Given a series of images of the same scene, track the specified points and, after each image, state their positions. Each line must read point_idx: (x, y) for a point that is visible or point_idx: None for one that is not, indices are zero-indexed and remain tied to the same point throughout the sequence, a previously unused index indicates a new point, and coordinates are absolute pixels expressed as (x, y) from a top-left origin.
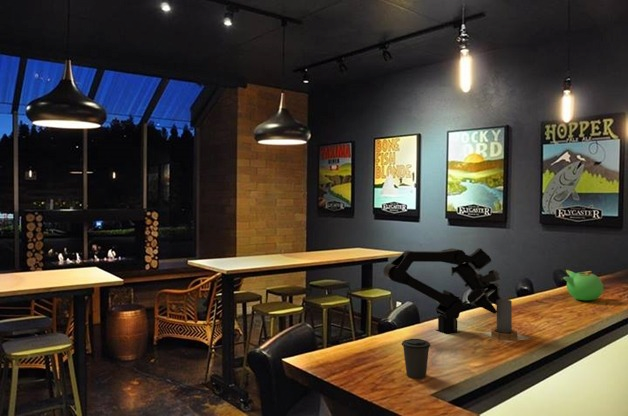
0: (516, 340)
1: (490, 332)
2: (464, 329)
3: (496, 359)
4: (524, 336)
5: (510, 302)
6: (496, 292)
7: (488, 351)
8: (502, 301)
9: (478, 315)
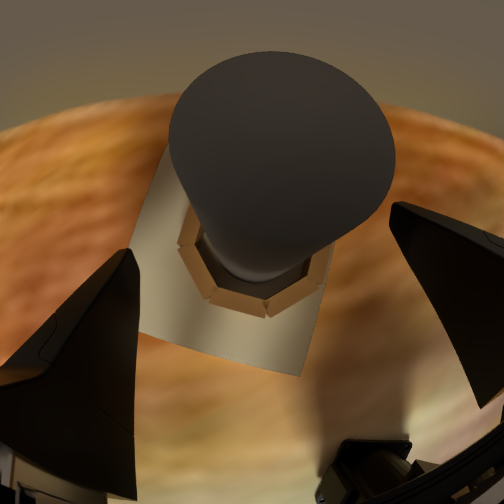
0: None
1: (228, 344)
2: (253, 470)
3: (480, 151)
4: (169, 177)
5: (285, 58)
6: (25, 402)
7: (459, 198)
8: (361, 120)
9: None
